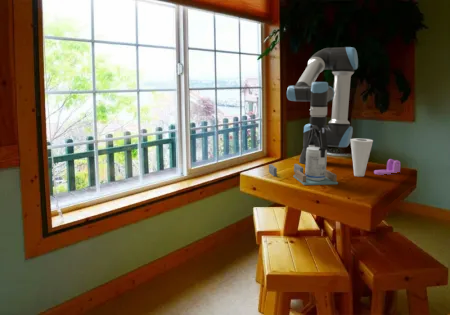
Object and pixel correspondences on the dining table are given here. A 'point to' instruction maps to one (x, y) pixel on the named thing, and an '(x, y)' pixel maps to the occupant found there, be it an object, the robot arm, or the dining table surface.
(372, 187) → the dining table surface
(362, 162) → the cup
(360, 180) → the dining table surface
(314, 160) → the supplement tub
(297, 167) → the holder
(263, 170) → the dining table surface
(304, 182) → the docking bay
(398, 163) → the bracket
